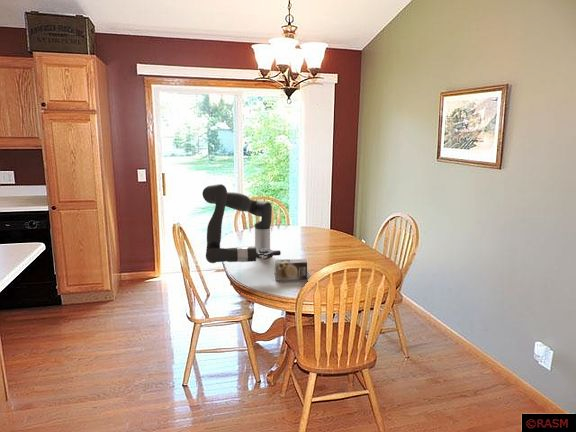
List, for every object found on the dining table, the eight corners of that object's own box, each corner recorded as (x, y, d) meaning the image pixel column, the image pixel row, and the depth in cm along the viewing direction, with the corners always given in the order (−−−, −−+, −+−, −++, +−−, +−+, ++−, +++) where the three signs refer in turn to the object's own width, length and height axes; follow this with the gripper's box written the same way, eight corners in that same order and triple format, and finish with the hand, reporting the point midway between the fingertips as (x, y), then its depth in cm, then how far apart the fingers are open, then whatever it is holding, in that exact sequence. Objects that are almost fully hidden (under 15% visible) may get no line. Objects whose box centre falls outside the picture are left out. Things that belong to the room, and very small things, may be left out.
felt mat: (274, 273, 219) (274, 272, 219) (307, 271, 222) (307, 271, 222) (279, 282, 205) (279, 282, 205) (313, 280, 209) (314, 280, 209)
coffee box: (275, 263, 206) (307, 262, 208) (275, 259, 213) (305, 258, 214) (275, 280, 208) (307, 279, 210) (275, 276, 214) (305, 275, 216)
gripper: (247, 250, 199) (282, 249, 203) (244, 243, 212) (278, 242, 215) (247, 265, 201) (282, 263, 204) (245, 257, 213) (277, 256, 217)
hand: (280, 252), depth 210 cm, fingers closed
